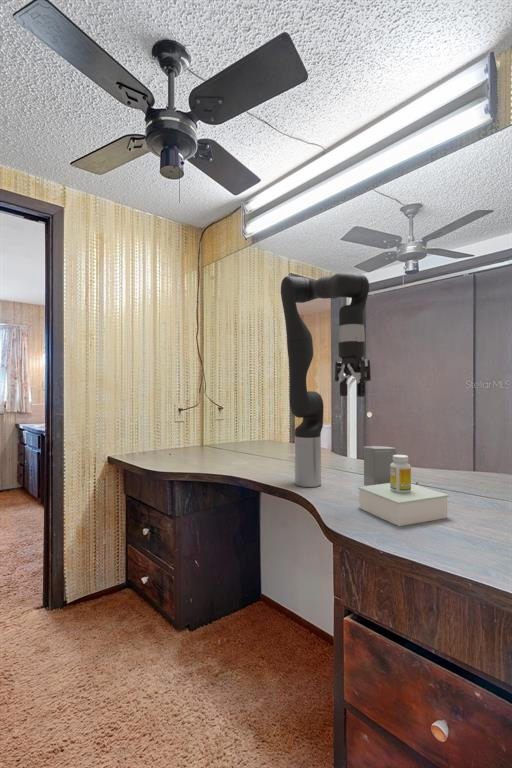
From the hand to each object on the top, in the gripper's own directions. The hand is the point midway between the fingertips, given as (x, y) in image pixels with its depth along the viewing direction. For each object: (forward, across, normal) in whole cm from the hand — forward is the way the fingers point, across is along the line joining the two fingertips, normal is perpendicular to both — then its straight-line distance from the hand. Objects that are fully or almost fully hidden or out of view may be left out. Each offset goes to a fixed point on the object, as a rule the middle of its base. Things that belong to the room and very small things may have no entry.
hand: (352, 396), depth 115 cm
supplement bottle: (+26, +11, +8) cm, 29 cm away
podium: (+32, +11, +8) cm, 35 cm away
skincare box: (+32, -4, +13) cm, 35 cm away
